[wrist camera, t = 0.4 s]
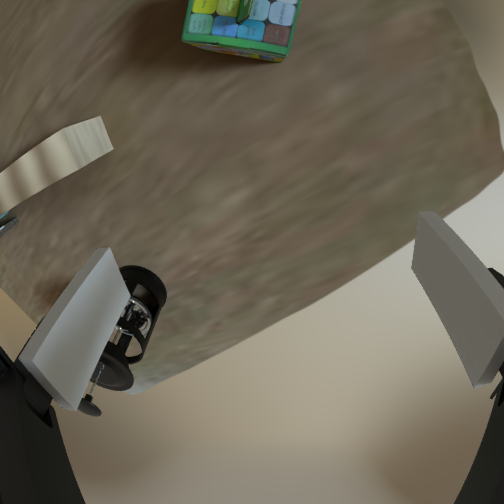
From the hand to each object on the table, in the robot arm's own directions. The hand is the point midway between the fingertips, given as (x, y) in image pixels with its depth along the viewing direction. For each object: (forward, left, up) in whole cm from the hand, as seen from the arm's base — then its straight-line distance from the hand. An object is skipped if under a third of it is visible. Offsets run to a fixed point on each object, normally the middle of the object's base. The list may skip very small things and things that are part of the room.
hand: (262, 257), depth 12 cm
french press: (+16, -26, -26) cm, 41 cm away
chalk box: (-14, +3, -26) cm, 30 cm away
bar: (-8, -30, -26) cm, 41 cm away
